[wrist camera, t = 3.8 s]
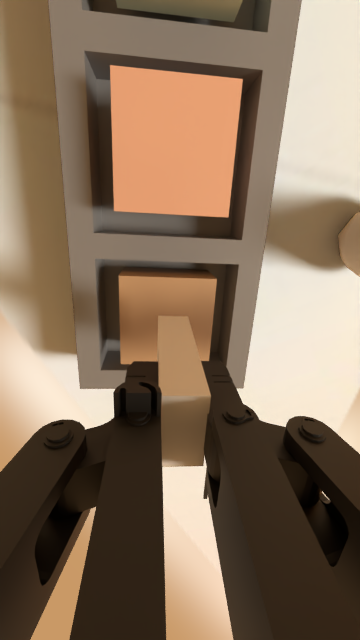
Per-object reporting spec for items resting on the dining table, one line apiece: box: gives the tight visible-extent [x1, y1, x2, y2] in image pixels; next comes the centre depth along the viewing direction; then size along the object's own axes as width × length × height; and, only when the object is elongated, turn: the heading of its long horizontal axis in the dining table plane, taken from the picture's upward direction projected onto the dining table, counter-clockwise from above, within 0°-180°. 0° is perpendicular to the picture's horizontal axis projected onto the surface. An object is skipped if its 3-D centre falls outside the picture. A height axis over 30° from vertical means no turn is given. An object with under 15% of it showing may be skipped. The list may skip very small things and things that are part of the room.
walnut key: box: [119, 267, 217, 364], centre depth 20 cm, size 6×6×3 cm
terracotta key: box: [110, 65, 243, 217], centre depth 15 cm, size 6×6×3 cm
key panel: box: [48, 0, 302, 389], centre depth 18 cm, size 30×12×5 cm, turn 177°
